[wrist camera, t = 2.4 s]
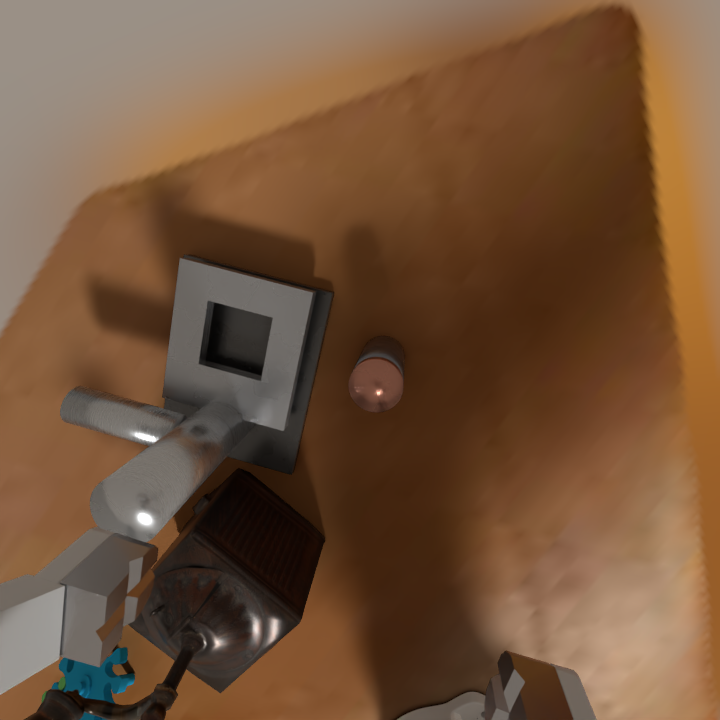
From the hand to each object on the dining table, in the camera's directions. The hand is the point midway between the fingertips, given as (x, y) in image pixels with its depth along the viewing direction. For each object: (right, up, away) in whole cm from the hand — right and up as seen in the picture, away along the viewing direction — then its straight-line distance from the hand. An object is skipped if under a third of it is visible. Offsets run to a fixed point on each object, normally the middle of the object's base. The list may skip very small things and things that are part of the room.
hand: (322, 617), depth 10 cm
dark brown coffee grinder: (-11, -12, +31) cm, 35 cm away
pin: (+3, +6, +24) cm, 25 cm away
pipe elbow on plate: (-11, +6, +26) cm, 29 cm away
